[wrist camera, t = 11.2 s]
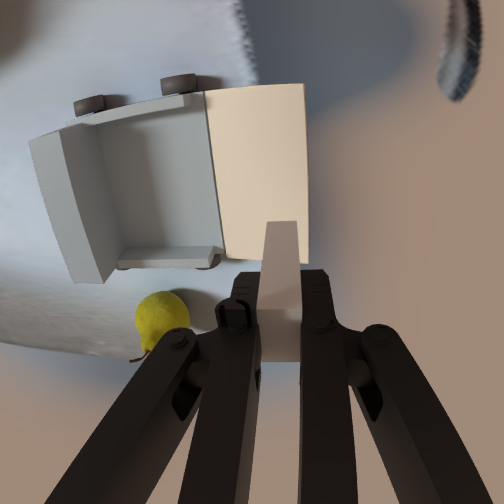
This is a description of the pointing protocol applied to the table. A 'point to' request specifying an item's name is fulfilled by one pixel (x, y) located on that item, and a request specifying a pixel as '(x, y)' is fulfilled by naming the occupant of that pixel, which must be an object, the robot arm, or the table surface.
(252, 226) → the panel
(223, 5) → the table surface
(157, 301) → the fruit
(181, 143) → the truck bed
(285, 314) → the robot arm
